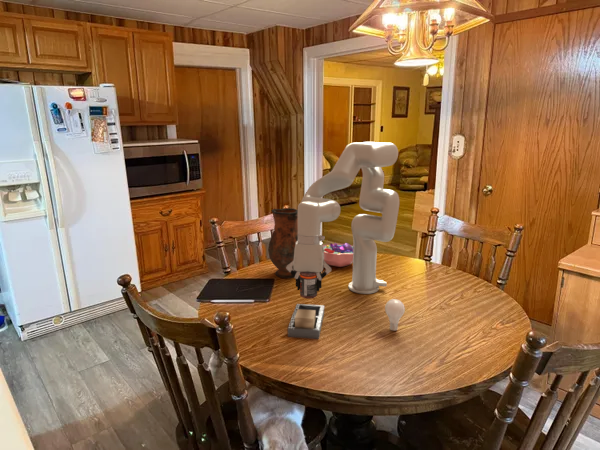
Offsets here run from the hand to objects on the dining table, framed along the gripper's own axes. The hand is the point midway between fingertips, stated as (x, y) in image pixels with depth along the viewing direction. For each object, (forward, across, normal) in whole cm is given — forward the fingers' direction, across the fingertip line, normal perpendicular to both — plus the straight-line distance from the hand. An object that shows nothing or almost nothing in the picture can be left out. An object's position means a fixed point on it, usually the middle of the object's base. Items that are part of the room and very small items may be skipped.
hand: (308, 288), depth 139 cm
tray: (+12, 0, +4) cm, 13 cm away
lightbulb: (+12, -29, +2) cm, 32 cm away
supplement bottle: (+3, 0, 0) cm, 3 cm away
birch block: (+11, 0, +8) cm, 14 cm away
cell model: (+12, -7, -59) cm, 61 cm away
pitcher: (+12, +14, -42) cm, 46 cm away
